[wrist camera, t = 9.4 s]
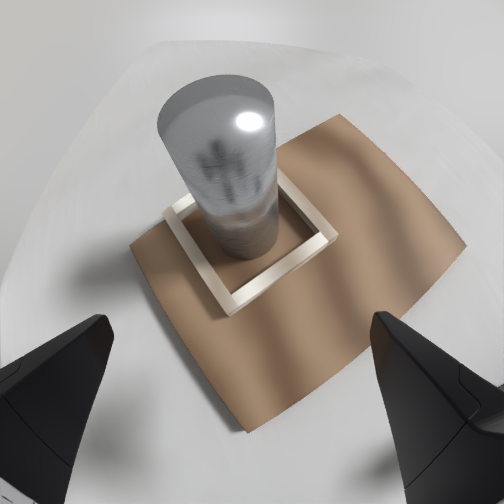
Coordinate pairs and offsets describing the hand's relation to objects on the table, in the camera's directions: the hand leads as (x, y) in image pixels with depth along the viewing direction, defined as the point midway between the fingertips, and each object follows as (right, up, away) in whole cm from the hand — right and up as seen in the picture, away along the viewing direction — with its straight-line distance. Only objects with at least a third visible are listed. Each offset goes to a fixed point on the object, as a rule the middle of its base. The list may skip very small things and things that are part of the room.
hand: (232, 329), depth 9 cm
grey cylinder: (0, +4, +14) cm, 15 cm away
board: (+5, +3, +15) cm, 16 cm away
